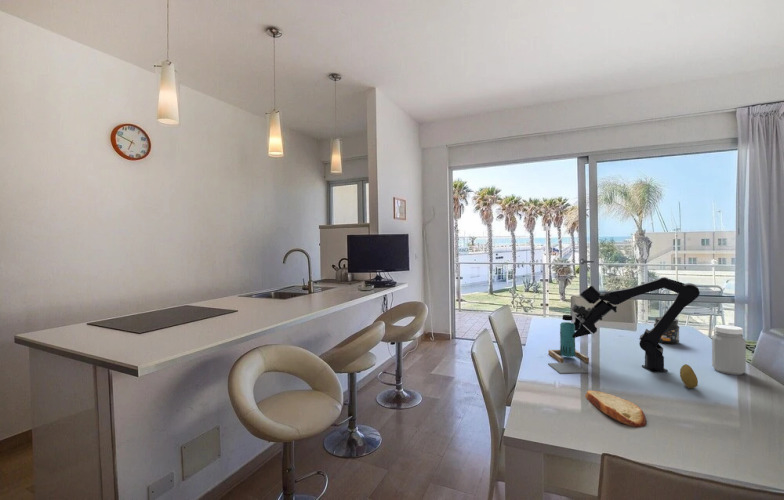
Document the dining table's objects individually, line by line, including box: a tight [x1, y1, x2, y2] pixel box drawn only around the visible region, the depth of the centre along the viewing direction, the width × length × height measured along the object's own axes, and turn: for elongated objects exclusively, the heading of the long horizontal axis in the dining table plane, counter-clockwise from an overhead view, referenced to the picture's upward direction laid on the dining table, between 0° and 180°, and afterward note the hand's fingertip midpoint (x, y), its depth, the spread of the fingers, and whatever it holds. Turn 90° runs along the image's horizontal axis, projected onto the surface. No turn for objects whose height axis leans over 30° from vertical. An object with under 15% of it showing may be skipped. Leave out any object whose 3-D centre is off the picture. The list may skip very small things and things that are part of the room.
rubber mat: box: [547, 362, 588, 375], centre depth 149 cm, size 11×11×1 cm
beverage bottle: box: [559, 314, 577, 358], centre depth 161 cm, size 6×7×20 cm
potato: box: [679, 364, 699, 389], centre depth 127 cm, size 7×8×8 cm
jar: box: [711, 324, 747, 376], centre depth 141 cm, size 10×10×18 cm
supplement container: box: [653, 316, 680, 345], centre depth 182 cm, size 10×10×12 cm
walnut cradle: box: [547, 349, 590, 363], centre depth 162 cm, size 12×12×2 cm
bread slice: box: [584, 389, 647, 428], centre depth 113 cm, size 18×18×4 cm
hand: (571, 334), depth 161 cm, fingers open, 9 cm apart
